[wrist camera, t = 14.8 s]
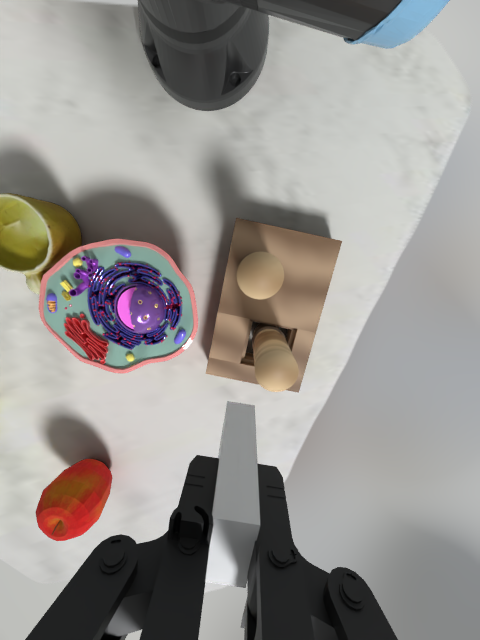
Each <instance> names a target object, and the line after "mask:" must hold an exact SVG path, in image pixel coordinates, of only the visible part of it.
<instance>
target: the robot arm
mask: <svg viewBox="0 0 480 640" xmlns="http://www.w3.org/2000/svg"><path fill="white" fill-rule="evenodd" d="M448 2H449V0H138V8H139V21H140V32H141V38H142V43H143V47H144V50H145V53H146V56H147V59H148V61H149V63H150V65H151V67H152V69H153V72H154V74H155V75H156V77H157V79H158V81H159V82H160V84H161V85H162V87H163V88H164V89H165V90H166V91H167V92H168V94H169V95H171V96H172V97H173V98H174V99H175V100H177V101H178V102H180V103H181V104H183V105H185V106H187V107H190V108H193V109H196V110H202V111H214V110H219V109H223V108H226V107H228V106H230V105H232V104H234V103H236V102H237V101H239V100H240V99H241V98H242V97H244V96H245V95H246V94H247V93H248V92H249V90H250V89H251V88H252V87H253V85H254V84H255V82H256V81H257V79H258V77H259V75H260V73H261V70H262V68H263V65H264V62H265V58H266V52H267V44H268V34H269V17H268V15H271V16H274V17H277V18H281V19H284V20H287V21H291V22H294V23H297V24H300V25H304V26H307V27H310V28H313V29H317V30H320V31H323V32H327V33H330V34H333V35H336V36H340V37H343V38H344V41H345V42H347V43H349V44H359V43H364V44H368V45H372V46H376V47H381V48H386V49H387V48H394V47H396V46H398V45H401V44H403V43H406V42H408V41H409V40H411V39H412V38H413V37H415V36H416V35H417V34H418V33H420V32H421V31H422V30H423V29H424V28H425V27H426V26H427V25H428V24H429V23H430V22H431V21H432V20H433V19H434V18H435V17H436V16H437V15H438V14H439V12H440V11H441V10H442V9H443V8H444V7H445V5H446V4H447V3H448ZM247 579H248V597H247V601H246V606H245V609H244V613H243V618H242V623H241V628H244V627H245V640H398V639H397V637H396V636H395V634H394V632H393V630H392V628H391V626H390V624H389V623H388V621H387V619H386V617H385V615H384V613H383V611H382V610H381V608H380V606H379V604H378V602H377V600H376V599H375V597H374V595H373V593H372V591H371V590H370V588H369V587H368V585H367V584H366V582H365V581H364V580H363V579H362V578H361V577H360V576H359V575H358V574H357V573H356V572H354V571H352V570H350V569H348V568H343V567H337V568H335V569H333V570H332V571H331V573H330V574H329V573H327V572H326V571H324V570H322V569H320V568H318V567H316V566H314V565H312V564H311V563H309V562H308V561H306V559H305V558H303V557H302V556H301V554H300V553H299V552H298V549H297V548H296V547H295V545H294V542H293V539H292V534H291V528H290V521H289V515H288V509H287V502H286V496H285V491H284V483H283V477H282V475H281V474H280V472H279V470H278V469H277V467H275V466H268V465H262V464H257V445H256V424H255V406H254V405H247V404H241V403H235V402H229V401H227V407H226V413H225V419H224V424H223V430H222V436H221V442H220V449H219V456H218V458H212V457H206V456H200V455H197V456H196V457H195V458H194V459H193V460H192V461H191V463H190V464H189V468H188V472H187V476H186V479H185V483H184V487H183V490H182V494H181V498H180V501H179V505H178V507H177V508H176V509H175V510H174V511H173V513H172V515H171V517H170V522H169V530H168V531H167V532H166V533H165V534H164V535H163V536H161V537H160V538H158V539H156V540H152V541H149V542H144V543H139V544H136V542H135V541H134V540H133V539H132V538H131V537H129V536H126V535H116V536H111V537H109V538H107V539H106V540H104V541H102V542H101V543H100V544H99V545H98V546H97V547H96V548H95V549H94V550H93V551H92V553H91V554H90V555H89V557H88V558H87V559H86V561H85V562H84V563H83V565H82V566H81V567H80V569H79V570H78V571H77V572H76V574H75V575H74V576H73V578H72V579H71V580H70V582H69V583H68V584H67V586H66V587H65V588H64V590H63V591H62V592H61V593H60V595H59V596H58V597H57V599H56V600H55V601H54V603H53V604H52V605H51V607H50V608H49V609H48V610H47V612H46V613H45V614H44V616H43V617H42V618H41V620H40V621H39V622H38V624H37V625H36V626H35V628H34V629H33V630H32V632H31V633H30V634H29V635H28V637H27V638H26V639H25V640H125V638H126V636H127V634H128V633H131V632H135V631H138V630H141V629H142V633H141V637H140V640H198V635H199V627H200V620H201V612H202V604H203V595H204V588H205V582H210V583H217V584H223V585H230V586H237V587H243V588H245V587H246V583H247Z"/></svg>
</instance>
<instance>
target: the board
mask: <svg viewBox="0 0 480 640" xmlns="http://www.w3.org/2000/svg"><path fill="white" fill-rule="evenodd" d="M341 243H342V241H340V240H335V239H330V238H326V237H321V236H317V235H312V234H308V233H303V232H299V231H294V230H290V229H285V228H281V227H276V226H271V225H267V224H262V223H258V222H253V221H249V220H244V219H240V218H236V221H235V226H234V231H233V236H232V241H231V247H230V252H229V257H228V262H227V267H226V272H225V277H224V282H223V288H222V293H221V298H220V303H219V308H218V313H217V318H216V323H215V329H214V334H213V339H212V344H211V349H210V354H209V359H208V364H207V370H206V374H210V375H215V376H220V377H225V378H230V379H235V380H239V381H244V382H249V383H254V384H259V383H258V381H257V379H256V376H255V367H254V354H253V353H248V352H246V349H247V344H248V340H249V335H250V331H251V327H252V322H258V323H263V324H267V325H272V326H277V327H282V328H286V329H288V330H287V334H286V337H285V338H286V342H287V344H288V346H289V348H290V350H291V352H292V354H293V356H294V358H295V360H296V362H297V365H298V369H299V374H298V378H297V380H296V382H295V383H294V384H293V385H292V386H291V387H290V388H288V389H286V390H289V391H294V392H299V389H300V386H301V382H302V379H303V375H304V372H305V369H306V365H307V362H308V358H309V355H310V351H311V348H312V344H313V341H314V337H315V334H316V330H317V327H318V323H319V320H320V316H321V313H322V309H323V306H324V302H325V299H326V295H327V292H328V288H329V285H330V281H331V278H332V274H333V271H334V267H335V264H336V260H337V257H338V253H339V250H340V246H341ZM259 385H260V384H259Z"/></svg>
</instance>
